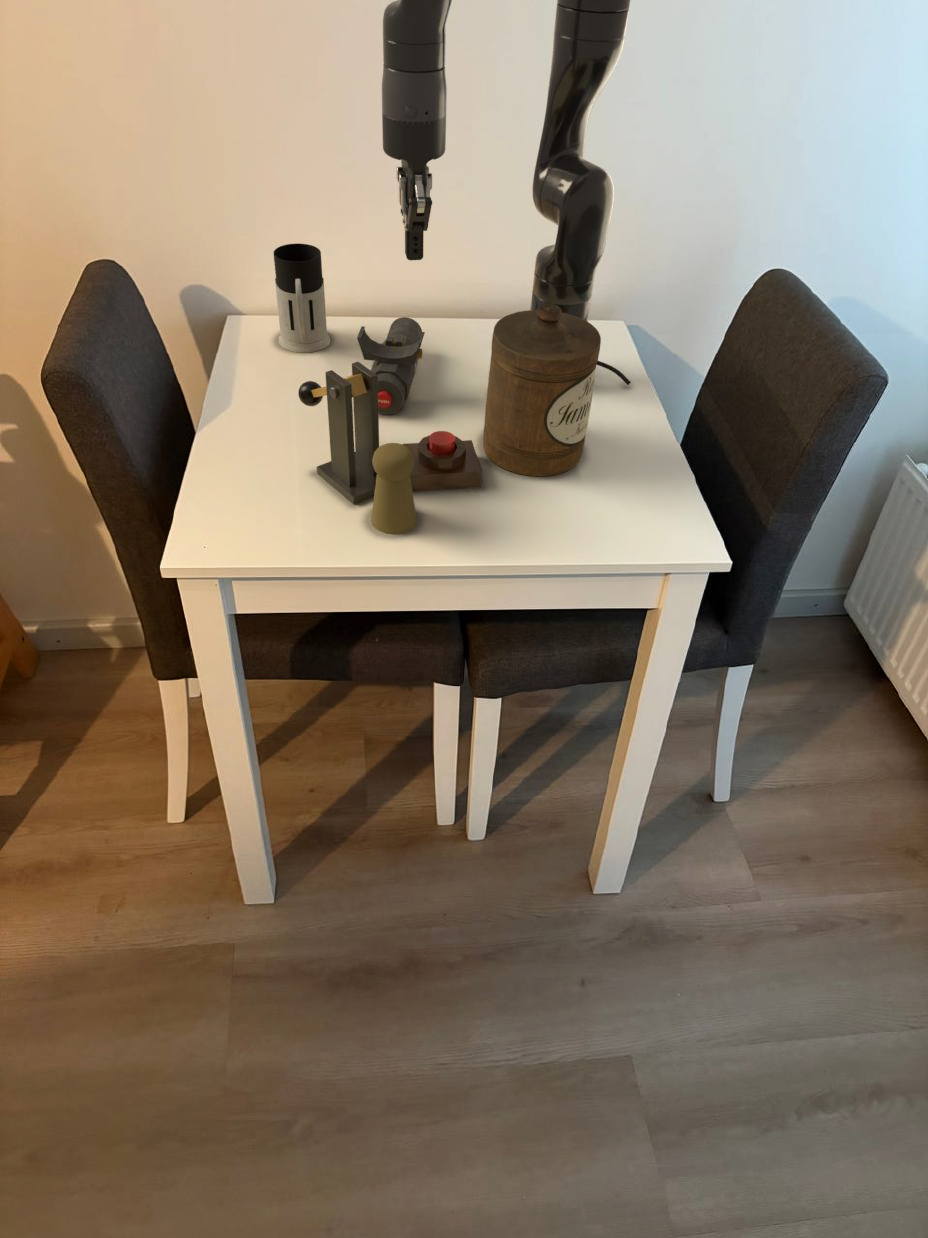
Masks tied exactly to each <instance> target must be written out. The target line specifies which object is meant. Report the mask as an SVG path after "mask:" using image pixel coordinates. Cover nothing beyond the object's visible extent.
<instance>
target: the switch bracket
mask: <svg viewBox="0 0 928 1238" xmlns="http://www.w3.org/2000/svg"><path fill="white" fill-rule="evenodd" d="M357 374H362V377H363V380H364V384H365V387H366V390H367V393H364V394H361V395H358V396H355V397H352V385H351V384H350V383H349V382H348V381H346V380H345V379H344V378H345V377H342V376H340V374H338V373H337V372H336V371H334V370H333V369H331V370H328V371H325V373H324V375H325V387H326V389H327V395H326V401H327V402H326V403H327V405H326V406H327V418H328V433H329V449H330V460H329V461H328V462H325V463H323V464H319V465H318V466H316V474H317V475H318V476H319V477H320V478H321V479H323V480H324V481H325V482H326V483H327V484H329V485H330V486H331V487H332V488H333V489H334V490H335V491H337V492H338V493H339V494H340V495H341V496H343V497H344V498H345V499H346V500H347V501H349V502H350V503H351V504H352V505H357V504H359V503H361V502H364V501H365V500H368V499H371V498H374V493H375V486H376V478H377V473H376V472H375V470H374V467H373V463H372V459H373V455H374V452H375V451H376V449H377V448H378V447H380V423H379V421H380V420H379V417H380V413H378V375H377V374H375V373H374V372H372V371H371V369H370V368H368V367H367V366H365V365H364V364H362V363H361V362H360V361H355V362H352V363H351V376H352V375H357Z"/></svg>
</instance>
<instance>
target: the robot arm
mask: <svg viewBox="0 0 928 1238" xmlns="http://www.w3.org/2000/svg"><path fill="white" fill-rule="evenodd" d="M452 3H453V0H394V1H392V2H390V3H389V4H387V6H386V7H385V9H384V11H383V16H382V61H383V65H382V78H381V120H382V121H381V125H382V126H381V127H382V131H381V132H382V150H383V152H384V153H385V155H386V156H388V157H390V158H391V159H394V160H398V161H400V163H401V166H396V169H395V171H396V172H395V173H396V180H397V182H398V203H399V205H400V214H401V216H402V220H401V222H402V224H403V228H404V255H405V257H406V259H407V260H408V261H421V260H423V259H424V232H427V231H428V228H429V224H430V223H429V222H430V216H431V211H432V206H433V200H432V197H431V190H432V189H433V173H432V172H430V167H429V166H428V163H429V162H430V161H433V160H437V159H439V158H441V157H443V155H444V154H445V152H446V146H447V145H446V142H447V140H446V139H447V138H446V137H447V94H448V91H447V90H448V88H447V78H446V49H447V47H446V45H447V43H446V42H447V41H446V38H447V33H446V31H447V29H446V28H447V27H446V26H447V21H448V17H449V13H450V10H451V7H452ZM630 7H631V0H556V9H555V20H554V28H553V29H554V30H553V41H552V42H553V44H552V53H551V54H552V56H551V65H550V74H549V81H548V89H547V97H546V106H545V114H544V119H543V125H542V131H541V136H540V140H539V141H540V142H539V147H538V152H537V157H536V162H535V167H534V170H533V171H534V172H533V179H532V188H531V189H532V190H531V191H532V192H531V193H532V200H533V204H534V207H535V209H536V211H537V212H538V213H539V214H540V215H541V216H542V217H543V218H544V219H546V220H548V221H549V222H551V223H553V224H554V225H556V226H558V227H557V233H556V237H555V243H554V244H550V245H547V246H544V247H542V248H541V249H540V250H538V252H537V254H536V256H535V260H534V261H535V262H534V270H533V271H534V272H533V280H532V292H531V300H530V309H529V310H537V309H538V308H539V307H540V306H541V305H544V304H547V303H553V304H555V305H557V306H558V307H559V308H560V309H561V311H562V313H566V314H570V315H573V316H576V317H579V318H581V319H583V320H585V321H587V322H589V317H590V311H591V305H592V296H593V291H594V283H595V277H596V271H597V268H598V266H599V264H600V262H601V259H602V258H603V256H604V251H605V248H606V243H607V238H608V233H609V230H610V229H609V228H610V223H611V219H612V214H613V209H614V202H615V201H614V200H615V188H614V186H615V185H614V182H613V179H612V176H611V175H610V173H609V172H608V171H607V170H606V169H604V168H603V167H601V166H599V165H596V164H594V163H592V162H591V161H588V160H586V159H585V145H586V137H587V131H588V125H589V120H590V116H591V113H592V110H593V108H594V105H595V104H596V102H597V100H598V98H599V96H601V95H600V94H601V93H602V91H603V90H604V88H605V87H606V85H607V83H608V82H609V81H610V78H611V77H612V75H613V73H614V72H615V69H616V68H617V66H618V63H619V62H620V59H621V56H622V53H623V49H624V46H625V39H626V34H627V27H628V19H629V13H630ZM597 366H599V367H600V368H601V367H602V368H604V369H606V370H608V371H610V372H612V373H614V374H615V375H617V376H618V377H619V378H620V379H621V380H622V381H623V382H624V383H625V384H626V386H629V385H630V384H631V383H632V381H631V380H630V379H629V378H628V377H627V376H626V375H625V374H624V373H622V371H620V370H619V369H617V368H616V367H614V366H612V365H610V364H608V363H606V362H603V361H601V360H598V361H597Z"/></svg>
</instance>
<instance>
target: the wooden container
mask: <svg viewBox="0 0 928 1238" xmlns="http://www.w3.org/2000/svg"><path fill="white" fill-rule="evenodd" d="M493 327H494V328H493V332H492V337H491V353H490V362H489V363H490V364H489V370H488V371H489V372H488V381H487V389H486V397H485V410H484V411H485V412H484V424H483V425H484V426H483V436H482V448H483V451H484V454H485V455H486V457H487V458H488V459H489V460H490V461H491V462H492V463H494V464H495V465H496V466H499V467H500V468H501V469H504V470H506V471H508V472H511V473H515V474H519V475H523V476H530V477H531V476H532V477H546V476H554V475H558V474H562V473H565V472H567V471H569V470H571V469H573V468H574V467H576V466H577V465H578V464H579V462H580V461H581V459H582V458H583V457H582V456H583V451H584V446H585V441H586V436H587V435H586V434H587V430H588V423H589V419H590V413H591V408H592V401H593V400H592V399H593V392H594V386H595V379H596V372H597V366H598V365H597V361H599V357H600V352H601V351H600V350H601V343H602V337H601V334H600V332H599V330H598V329H597V328H596V327H595V325H593V324H591V323H590V322H589V321H588V322H587V321H585V320H583V319H581V318H579V317H576V316H573V315H570V314H566V313H562V311H561V309H560V308H559V307H558V306H557V305H555V304H553V303H547V304H544V305H541V306H540V307H539V308H538V309H537V310H530V309H529V310H521V311H515V312H513V313H510V314H507V315H505V316H503V317H502V318H500V319H499V320H498V321H497V322H496V323H495V324H494V326H493Z"/></svg>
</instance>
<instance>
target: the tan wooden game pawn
mask: <svg viewBox="0 0 928 1238" xmlns="http://www.w3.org/2000/svg"><path fill="white" fill-rule="evenodd" d="M403 444H404V443H398V442H388V443H384V444H381V445H379V447H378V448H377V449H376V451H375V452H374V455H373V459H372V463H373V467H374V470H375V472H376V473H377V478H376V486H375V493H374V496H373V500H372V501H373V503H372V508H371V509H372V510H371V518H370V523H371V526H373V527H374V529H375V530H377V531H378V532H380V533H383V534H387V535H401V534H402V535H403V534H404V533H408V532H409V531H411V530H413V529H414V528H415V526H416V525H417V521H418V519H417V512H416V505H415V498H414V493H413V491H412V485H411V478H410V473H411V472H412V470H413V466H414V457H413V454H412V452H411V450H410V449H409V448H408V447H407V446H405V445H403Z"/></svg>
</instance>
